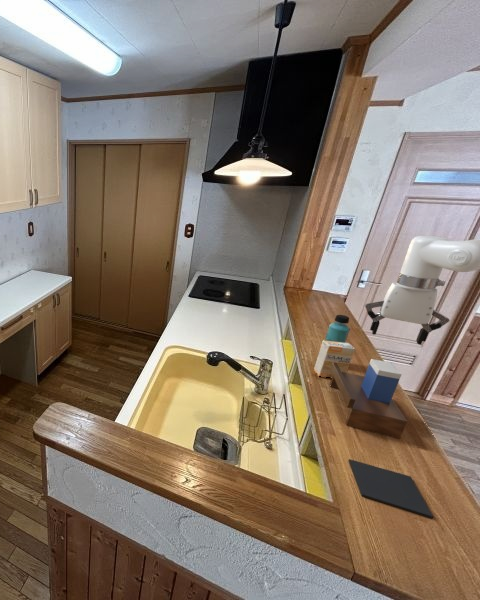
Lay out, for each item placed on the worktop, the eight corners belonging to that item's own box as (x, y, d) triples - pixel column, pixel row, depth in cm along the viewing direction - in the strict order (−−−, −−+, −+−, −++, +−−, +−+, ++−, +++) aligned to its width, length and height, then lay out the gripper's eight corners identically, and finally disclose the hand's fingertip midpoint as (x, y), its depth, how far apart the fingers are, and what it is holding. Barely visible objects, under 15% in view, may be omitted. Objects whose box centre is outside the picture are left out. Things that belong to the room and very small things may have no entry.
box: (381, 390, 100) (392, 362, 97) (389, 403, 94) (401, 374, 91) (361, 386, 102) (370, 358, 99) (368, 398, 96) (379, 370, 93)
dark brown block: (372, 394, 108) (381, 371, 105) (399, 438, 89) (411, 412, 86) (325, 384, 113) (332, 362, 110) (341, 424, 95) (350, 398, 92)
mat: (409, 478, 77) (410, 476, 77) (432, 518, 68) (433, 516, 68) (348, 460, 82) (348, 458, 82) (361, 496, 73) (362, 494, 73)
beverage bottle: (337, 360, 128) (352, 314, 121) (340, 368, 123) (355, 320, 116) (317, 356, 131) (331, 311, 124) (319, 364, 126) (333, 317, 119)
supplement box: (318, 377, 117) (328, 345, 112) (313, 370, 121) (322, 339, 117) (344, 380, 115) (355, 348, 111) (338, 373, 120) (348, 342, 115)
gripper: (459, 284, 86) (435, 342, 92) (374, 273, 96) (357, 325, 102) (466, 291, 80) (440, 352, 86) (375, 279, 91) (357, 333, 97)
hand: (395, 337), depth 94 cm, fingers open, 9 cm apart
